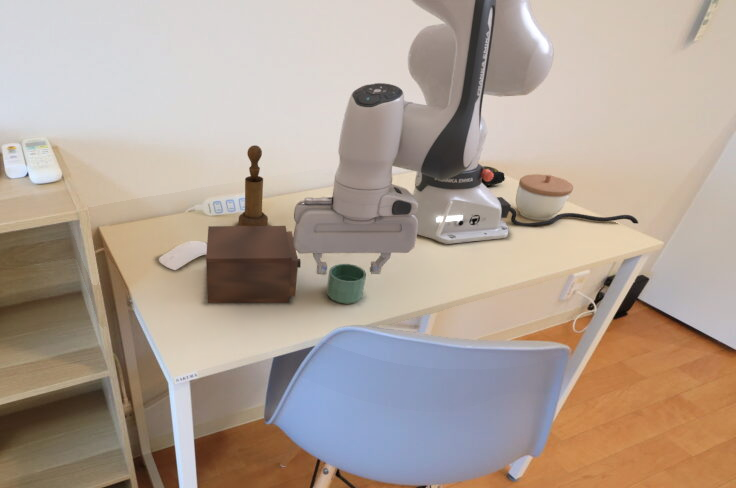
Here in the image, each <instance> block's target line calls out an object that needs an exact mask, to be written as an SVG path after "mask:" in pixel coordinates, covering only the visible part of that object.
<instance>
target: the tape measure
mask: <svg viewBox="0 0 736 488" xmlns="http://www.w3.org/2000/svg"><path fill="white" fill-rule="evenodd" d="M482 166H483V167H484V168H485V169H489V170H490V171H491V172H493V174H494V175H493V176H494V177H492V178H493V179H490V180H491V181H488V182H487V181H485V180H484V179H483V178H482V183H483V184H484V185H485V186H486V187H489V186H493V185H498V184H501V183H503V182H505V179H506V177H505V173H504V172H502V171H499V170H498V169H497V168H495V167H492V166H486V165H482Z"/></svg>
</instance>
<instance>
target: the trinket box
mask: <svg viewBox="0 0 736 488" xmlns="http://www.w3.org/2000/svg"><path fill="white" fill-rule="evenodd" d="M573 189H574V185H573V183H571V182H570V181H568V180H566V179H564V178H562V177H559V176H554V175H552V174H539V173H536V174H527V175H524V176H522V177H520V179H519V181H518V186H517V189H516V194H515V205H516V207H517V209H518V211H519V214H520V216H522V217H523V218H526V219H527V220H528V219H529V220H532V221H548V220H549V218H552V217H553V216H556V215H558V213H559V212H560V211H561V210H562V209H563V208H564V207H565V205H566V203H567V202H568V200H569V198H570V195H571V193H572V192H573Z"/></svg>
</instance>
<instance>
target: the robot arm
mask: <svg viewBox="0 0 736 488" xmlns="http://www.w3.org/2000/svg"><path fill="white" fill-rule="evenodd" d="M410 1H411V2H412V3H413V4H415V5H416V6H417V7H419V8H421V9H422V10H423V11H425V12H427V13H429V14H430V15H432V16H434V17H436V18H437V19H439V20H440V21H442V22H443V23H439V24H438V23H437V24H433V25H427V26H425V27H423V28H422V29H421V30H420V31H419V32H418V33H417V35H416V36H415V37H414V38H413V40H412V42H411V44H410V46H409V50H408V53H407V54H408V55H407V69H408V72H409V74H410V76H411V78H412V79H413V80H414V82H416V84H417V86H418V87H419V88H420V91H421V92H422V95H423V96H424V100H425V104H421V103H416V102H415V103H414V102H412V101H408V100H407V101H406V100H405V95H404V94H405V93H404V91H403V90H402V89H401V88H400V87H399V86H397V85H394V84H390V83H385V82H383V83H382V82H377V83H371V84H364V85H362V86H360V87H358V88H356V89H354V90H353V91H352V92H351V94H350V96H349V99H348V101H347V105H346V108H345V111H344V114H343V119H342V123H341V129H340V136H339V143H338V150H337V151H338V158H339V159H338V161H339V162H338V166H337V170H336V171H335V173H334V174H335V175H334V178H333V179H334V181H333V188H332V196H331V197H325V196H323V197H305V198H304V199H303V200H300V201H299V202H297V203H296V205H295V206H294V210H293V219H294V222H295V225H294V229H293V244H294V248H295V249H296V253H298V254H312V256H313V259H314V261H315V263H316V274H317V275H327V271H328V265H327V261H322V260H321V259H322V258H323V254H380V255H379V256H378V258H377V259H375V260H373V261H370V266H369V273H370V275H380V274H381V271H382V268H383V266H384V265H385V264H386V263H387V262H388V261H389V260H390V259H391V256H392V254H408V253H410V252H411V251H413V249H414V248H415V246H416V242H417V237H418V235H419V236H422V237H425V238H429V239H432V240H435V241H436V242H438V243H441V244H445V245H450V244H451V245H452V244H461V243H469V242H470V243H471V242H479V241H489V240H498V239H506V238H507V237H508V235H509V227H508V225H507V223H506V222H505V221H504V220H503V219H507V218H508V216H509V212H510V213H511V217H510V222H511V223H512V224H513V225H514V226H519V227H530V228H531V227H533V228H534V227H541V226H547V225H552V224H554V223H556V222H557V221H558V220H560V219H562V218H575V219H580V220H588V221H593V222H603V223H604V222H612V221H619V220H628V221H631V223H633V224H639V221H638V219H637V218H636V217H634V216H633V215H630V214H619V215H614V216H608V217H607V216H606V217H603V216H593V215H588V214H582V213H575V212H563V213H559V214H556V215H554V217H552V218H551V219H547V220H540V221H535V222H520V221H519V220H517V219H516V218H517V216H518V212H517V210H516V209H515V208H514V207H512V204H511V203H510V202H508V201H507V200H506V199H505V198H503V196H496V195H495V194H494V193H493V192H492V191H491V190H490V189H489V188H488V186H485V185H484V184H483V183H482V178H483V179H484V180H485V181H487V182H488V181H491V180H490V179H493V178H492V177H494V176H493V175H494V174H493V172H491V171H490V170H489V169H485V168H484V167H483V166H484V165H482V164H480V163H479V162H480V159H481V155H482V153H483V148H484V146H485V142H486V139H487V135H488V125H487V122H486V120H485V118H484V117H483V116H482V108H483V100H484V95H487V96H494V97H518V96H527V95H530V94H531V93H533V92H534V91H535V90H536V89H537V88H539V87H540V85H541V84H543V82H544V81H545V79H546V78H547V77H548V75H549V73H550V72H551V69H552V66H553V62H554V55H555V53H554V46H553V42H552V40H551V38H550V36H549V35H548V34H547V33H546V32H545V31H544V30H543V29H542V28H541V26H540V25H539V23H538V21H537V20H536V17H535V16H534V13H533V10H532V7H531V6H532V5H531V2H530V0H410ZM393 167H395V168H399V169H404V170H408V171H412V172H416V173H415V179H414V189H413V193H411V192H410V191H409V190H408V189H406V188H405V187H403V186H399V185H396V184H393Z"/></svg>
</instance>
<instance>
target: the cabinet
mask: <svg viewBox="0 0 736 488" xmlns="http://www.w3.org/2000/svg"><path fill="white" fill-rule="evenodd" d="M206 240H207V242H206V244H207V253H206V255H205V266H206V267H205V268H206V269H205V270H206V293H207V304H257V303H259V304H260V303H261V304H263V303H264V304H265V303H266V304H267V303H270V304H272V303H273V304H275V303H278V304H279V303H280V304H281V303H284V304H286V303H289V302H290V301H289V300H290V296H289V290H290V277H291V263H292V256H291V251H290V246H289V241H288V236H287V226H286V225H268V226H239V225H208V228H207V239H206Z"/></svg>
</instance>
